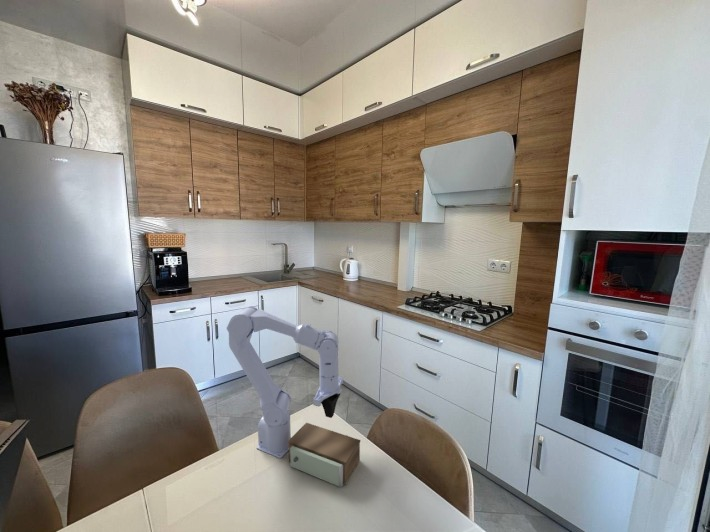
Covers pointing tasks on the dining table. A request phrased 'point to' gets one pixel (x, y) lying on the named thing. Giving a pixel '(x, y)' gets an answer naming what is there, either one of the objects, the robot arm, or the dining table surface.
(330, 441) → the cabinet
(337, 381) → the robot arm
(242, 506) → the dining table surface
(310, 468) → the door
